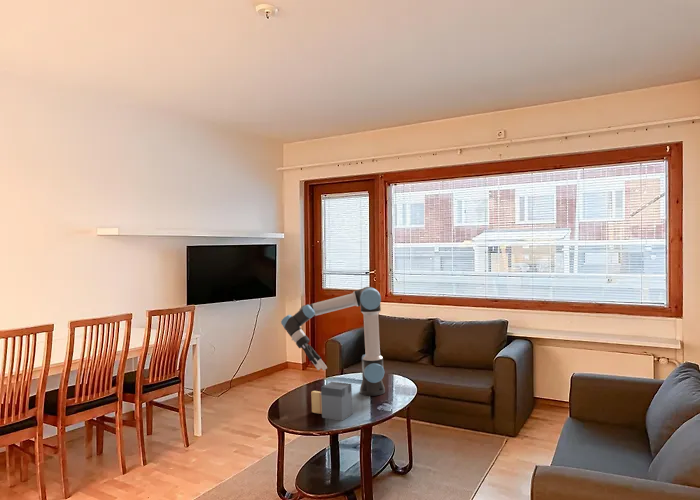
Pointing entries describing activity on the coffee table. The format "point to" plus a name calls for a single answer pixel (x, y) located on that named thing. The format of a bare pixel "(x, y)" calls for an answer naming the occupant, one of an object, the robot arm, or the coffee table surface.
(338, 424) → the coffee table surface
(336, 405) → the dispenser
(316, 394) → the taped cardboard box
